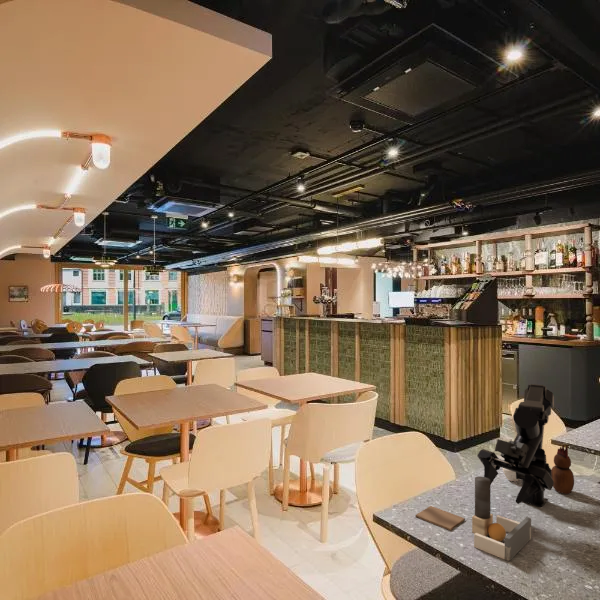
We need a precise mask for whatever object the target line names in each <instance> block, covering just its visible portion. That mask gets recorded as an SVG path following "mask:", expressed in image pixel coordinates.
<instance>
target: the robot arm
mask: <svg viewBox="0 0 600 600" xmlns="http://www.w3.org/2000/svg"><path fill="white" fill-rule="evenodd" d="M523 391H524V394H523V401H521V402H520V403H519V404H518V405H517V407H515V410H514V413H513V415H512V419H513V422H514V427H515V432H516V436H515V437H514V440H510V441H506V440H502V439H498V438H497V440H496V444H495V447H494V451H495V452H498V453H500V457H501V459H500V458H499V457H498V456H497V455H496V453H495V452H493V451H492V450H491V451H490V450H488V449H485V448H483V449H480V450H479V451H478V453H477V455H476V456H477V458H478V459H479V460H480V462H481V463H482V465H483V470H484V471H483V472H484V473H483V477H486V478H488V479H490V486H491V485H492V483H494V481H495V479H496V477H498V474H499V472H498V470H500V469H501V468H502V469H503V468H505V469H508V470H511V471H514V472H516V479H519V480H521V487H520V490H519V492H518V494H517V496H516V498H515V503H516V504H518V505H520V503H525V504H529V505H532V506H535V507H539V508H542V507H543V506H545V505H546V504H547V503H548V501H549V498H547V497H545V491H546V490H548V491H552V489H553V488H554V487H553V485H554V481H553V479H552V473H551V470H552V468H551V467H550V465H549V463H547V455H546V452H545V449H543V444H544V443H543V442H544V441H543V440H544V433H545V432H544V431H545V425H546V424H548V422H549V416H551V414H552V409H554V407H555V397H554V393H553V392H552V391H551V390H549V389H547V385H546V386H545V385H543V384H535V383H534V384H533V383H531V384H530V383H529V384H528V385H527V388H525V389H524V390H523ZM502 458H503V459H504V460H503V459H502Z"/></svg>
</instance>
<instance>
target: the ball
mask: <svg viewBox="0 0 600 600" xmlns="http://www.w3.org/2000/svg"><path fill="white" fill-rule="evenodd" d="M488 533H489V534H488V536H489V538H491V539H493V540H496V541H499V542H503V540H504V541H505V536H507V532H506V531H505V529H504V527H503V526H502V525H500V524H498V523H496V522H494V523H492V524H491V525H490V526H489V528H488Z"/></svg>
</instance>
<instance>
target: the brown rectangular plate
mask: <svg viewBox="0 0 600 600" xmlns="http://www.w3.org/2000/svg"><path fill="white" fill-rule="evenodd" d="M415 518H417V519H420V520H422V521H424V522H427V523H430V524H433V525H435V526H437V527H440V528H443V529H445V530H447V531H452V530H453V529H455V528H456V527H458V526H459V525H460V524H462V523H463V522H464V521H465V520H466V519H465V517H462V516H459V515H456V514H455V513H451V512H449V511H446V510H443V509H440V508H437V507H435V506H433V505H429V506H428V507H426V508H424V509H423V510H421V511H420V512H418V513H416V514H415Z"/></svg>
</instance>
